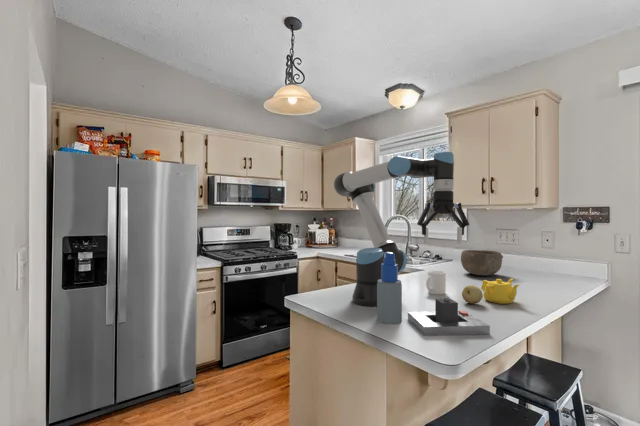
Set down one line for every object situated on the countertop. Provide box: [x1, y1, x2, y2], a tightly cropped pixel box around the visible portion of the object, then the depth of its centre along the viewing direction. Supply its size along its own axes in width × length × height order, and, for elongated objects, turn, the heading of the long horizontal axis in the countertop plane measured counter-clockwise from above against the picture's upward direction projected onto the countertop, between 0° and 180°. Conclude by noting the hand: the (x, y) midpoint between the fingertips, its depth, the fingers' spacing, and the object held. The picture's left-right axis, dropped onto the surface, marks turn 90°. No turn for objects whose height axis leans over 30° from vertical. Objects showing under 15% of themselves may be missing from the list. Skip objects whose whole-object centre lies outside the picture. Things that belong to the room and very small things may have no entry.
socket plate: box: [407, 310, 491, 337], centre depth 116 cm, size 22×16×4 cm
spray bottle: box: [376, 252, 403, 325], centre depth 123 cm, size 9×9×25 cm
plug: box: [434, 296, 459, 323], centre depth 116 cm, size 6×6×10 cm
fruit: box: [461, 284, 484, 305], centre depth 145 cm, size 8×8×8 cm
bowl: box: [460, 249, 504, 276], centre depth 210 cm, size 24×24×15 cm
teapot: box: [480, 278, 520, 305], centre depth 149 cm, size 14×13×10 cm
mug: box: [425, 270, 447, 296], centre depth 163 cm, size 12×8×10 cm
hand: (442, 243), depth 134 cm, fingers open, 13 cm apart
